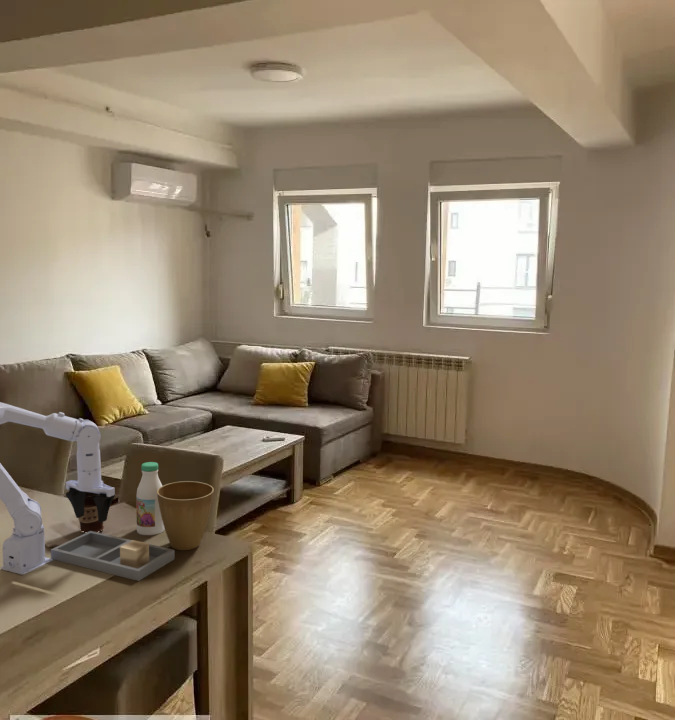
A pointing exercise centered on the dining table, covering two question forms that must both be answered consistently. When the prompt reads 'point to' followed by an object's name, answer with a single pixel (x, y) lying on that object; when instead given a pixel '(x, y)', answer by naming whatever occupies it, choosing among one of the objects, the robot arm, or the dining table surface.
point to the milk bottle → (149, 501)
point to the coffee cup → (90, 515)
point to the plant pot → (185, 512)
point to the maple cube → (134, 554)
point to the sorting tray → (109, 555)
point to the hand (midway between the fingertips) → (91, 518)
